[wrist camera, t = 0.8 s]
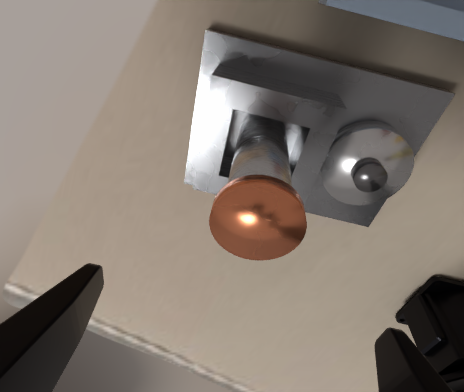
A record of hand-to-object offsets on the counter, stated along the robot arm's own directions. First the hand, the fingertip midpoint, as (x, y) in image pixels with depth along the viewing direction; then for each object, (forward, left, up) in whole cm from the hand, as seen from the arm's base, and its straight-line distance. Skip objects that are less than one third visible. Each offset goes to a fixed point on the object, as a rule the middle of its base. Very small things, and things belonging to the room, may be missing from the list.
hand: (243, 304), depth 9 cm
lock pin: (0, 0, -12) cm, 12 cm away
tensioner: (-3, 0, -13) cm, 13 cm away
